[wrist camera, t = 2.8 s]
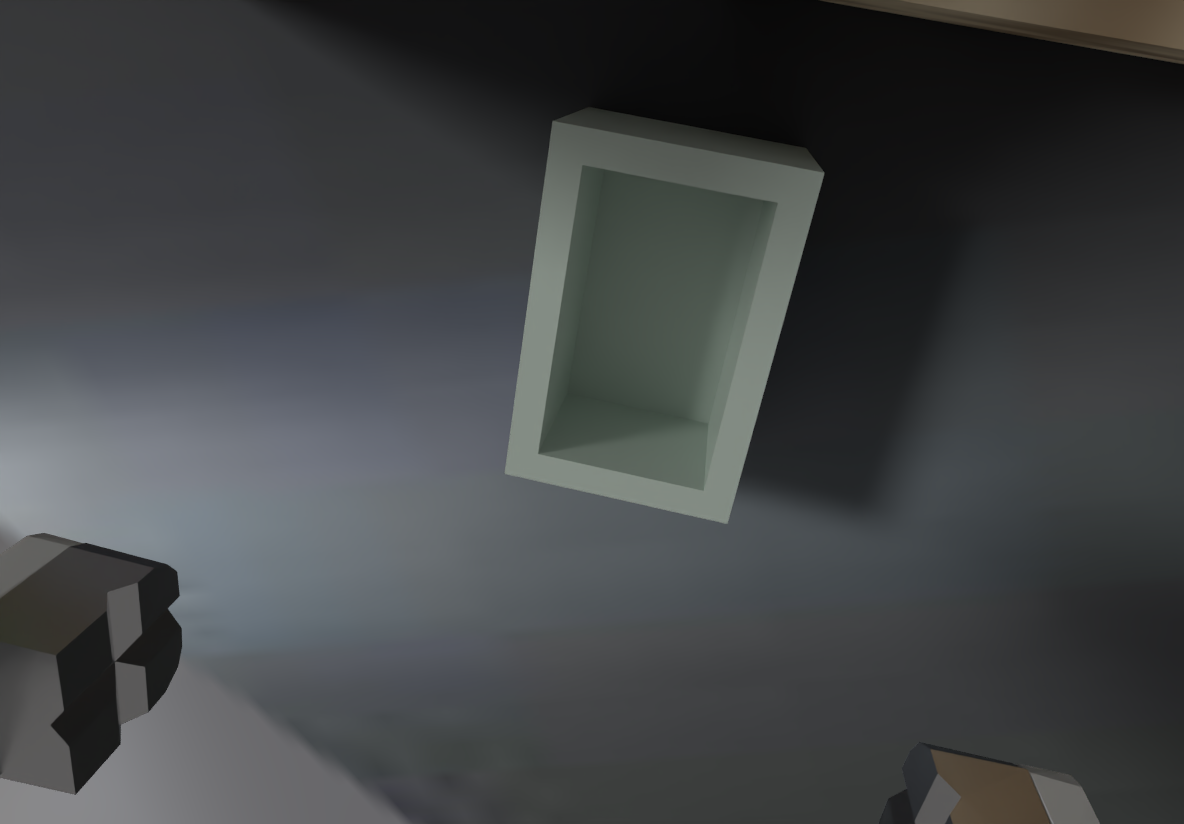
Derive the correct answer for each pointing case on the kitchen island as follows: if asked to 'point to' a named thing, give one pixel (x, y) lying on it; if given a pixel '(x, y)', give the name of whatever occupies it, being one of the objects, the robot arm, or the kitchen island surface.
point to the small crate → (656, 307)
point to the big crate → (1061, 21)
